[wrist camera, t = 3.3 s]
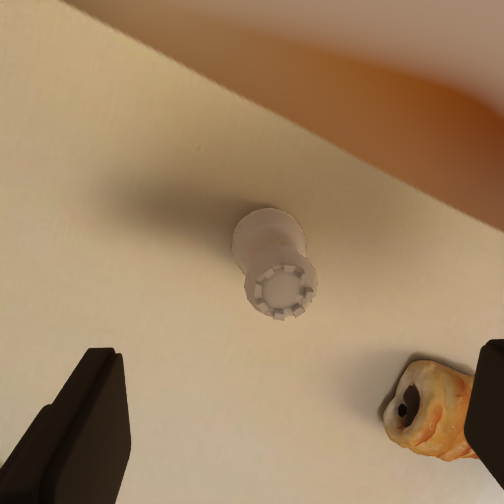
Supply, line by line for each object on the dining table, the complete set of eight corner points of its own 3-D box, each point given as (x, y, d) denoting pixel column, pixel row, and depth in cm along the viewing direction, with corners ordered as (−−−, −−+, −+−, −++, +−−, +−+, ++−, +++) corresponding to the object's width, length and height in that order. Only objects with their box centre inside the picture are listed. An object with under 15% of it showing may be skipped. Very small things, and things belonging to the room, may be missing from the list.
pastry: (524, 383, 28) (568, 421, 24) (478, 453, 29) (513, 499, 26) (409, 348, 26) (438, 384, 23) (369, 424, 28) (389, 468, 25)
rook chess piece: (221, 262, 24) (215, 323, 16) (246, 195, 23) (252, 226, 15) (287, 284, 24) (311, 352, 17) (314, 220, 23) (354, 262, 16)
